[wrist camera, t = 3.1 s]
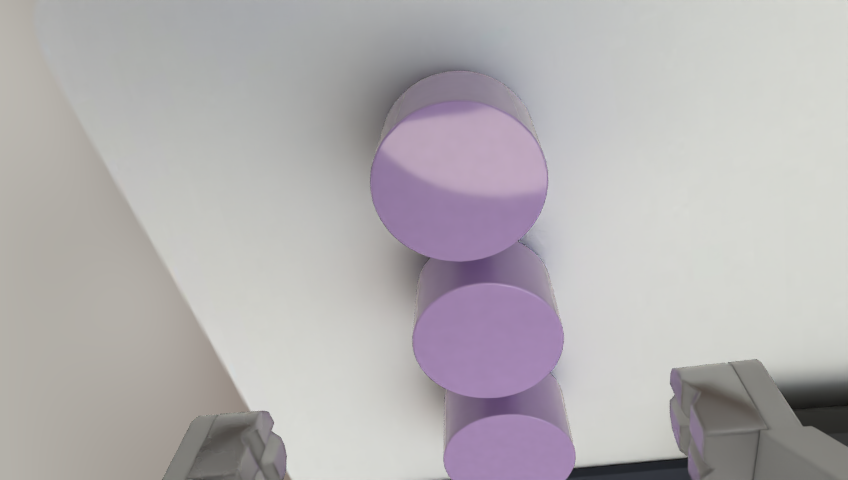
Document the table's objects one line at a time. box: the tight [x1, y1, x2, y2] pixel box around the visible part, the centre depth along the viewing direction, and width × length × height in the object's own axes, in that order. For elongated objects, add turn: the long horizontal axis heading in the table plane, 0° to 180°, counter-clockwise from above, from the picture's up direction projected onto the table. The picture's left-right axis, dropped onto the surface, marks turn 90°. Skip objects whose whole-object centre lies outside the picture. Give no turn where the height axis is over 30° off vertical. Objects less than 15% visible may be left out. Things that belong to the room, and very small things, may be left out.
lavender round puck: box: [370, 71, 548, 262], centre depth 22 cm, size 6×6×5 cm
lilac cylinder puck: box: [412, 242, 564, 398], centre depth 25 cm, size 6×6×5 cm
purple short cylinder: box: [443, 373, 575, 480], centre depth 29 cm, size 6×6×5 cm
